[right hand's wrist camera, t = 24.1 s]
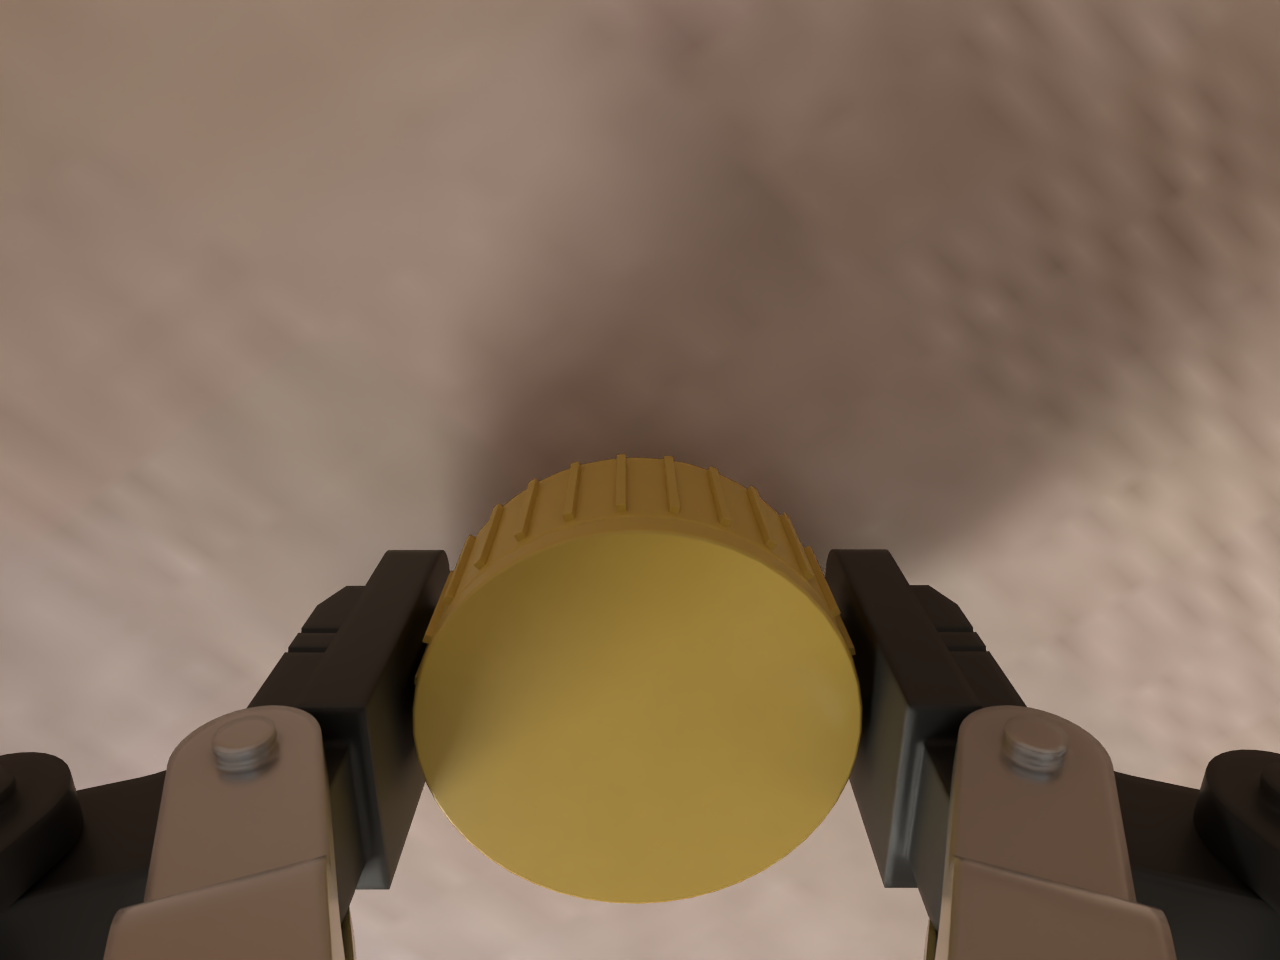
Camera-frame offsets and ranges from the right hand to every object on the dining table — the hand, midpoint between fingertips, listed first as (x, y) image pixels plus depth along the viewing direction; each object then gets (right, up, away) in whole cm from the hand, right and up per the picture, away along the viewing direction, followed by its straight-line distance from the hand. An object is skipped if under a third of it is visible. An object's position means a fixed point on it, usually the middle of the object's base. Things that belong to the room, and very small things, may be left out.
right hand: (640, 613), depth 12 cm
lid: (0, -1, -2) cm, 2 cm away
